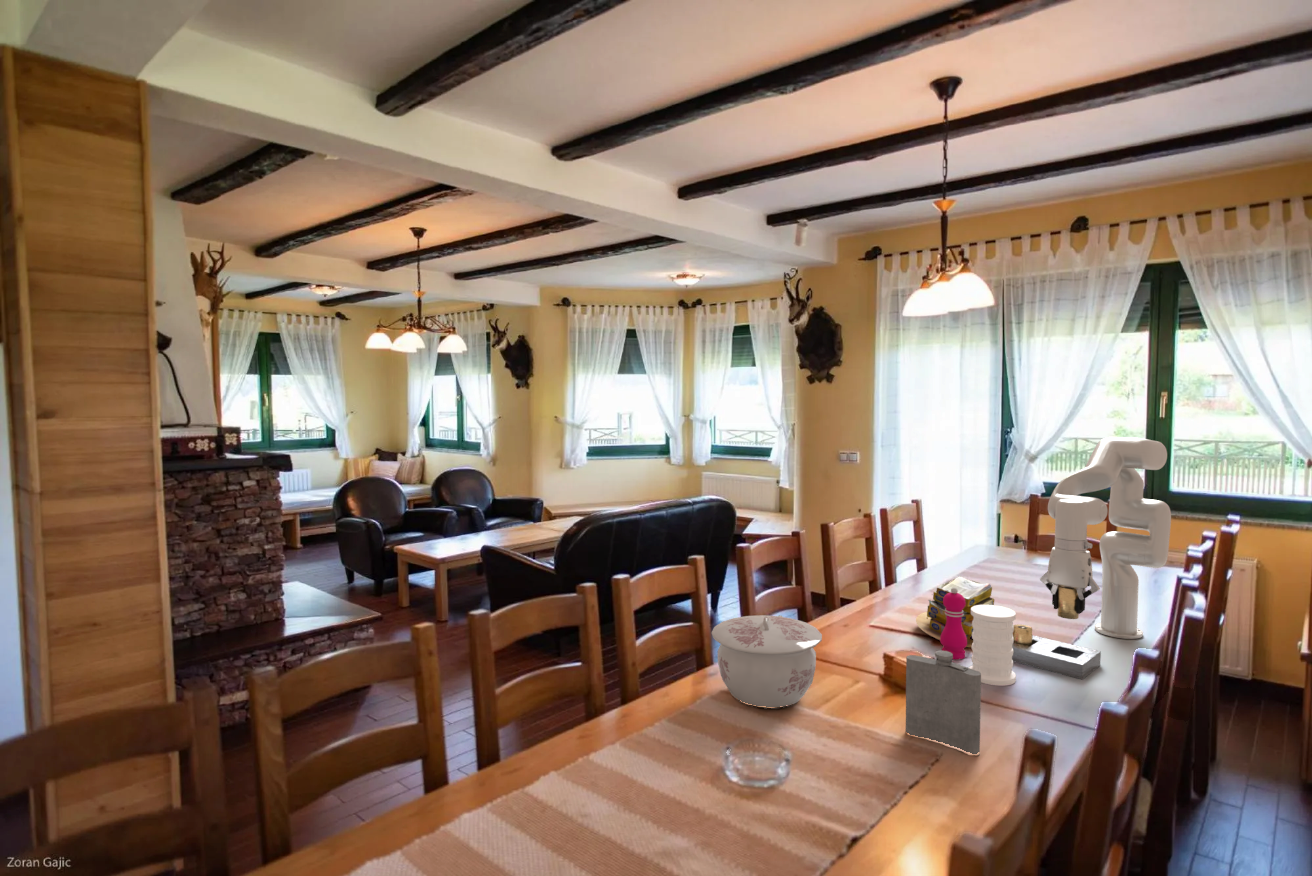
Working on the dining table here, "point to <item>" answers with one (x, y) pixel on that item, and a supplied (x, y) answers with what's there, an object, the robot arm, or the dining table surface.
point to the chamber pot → (767, 658)
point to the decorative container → (993, 644)
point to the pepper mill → (954, 625)
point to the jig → (1053, 654)
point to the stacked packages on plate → (973, 595)
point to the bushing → (1067, 602)
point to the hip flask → (943, 701)
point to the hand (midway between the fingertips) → (1068, 609)
